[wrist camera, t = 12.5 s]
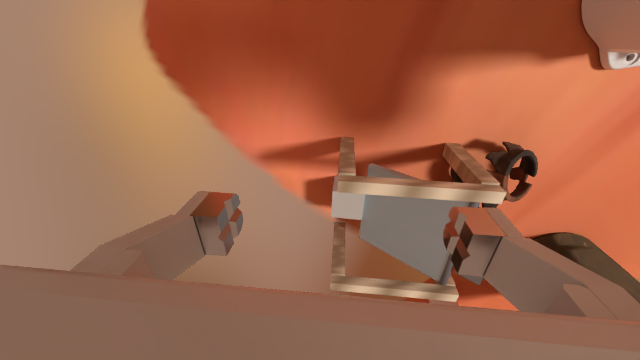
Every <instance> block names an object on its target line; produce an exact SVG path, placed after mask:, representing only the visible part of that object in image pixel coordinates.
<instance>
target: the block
mask: <svg viewBox="0 0 640 360" xmlns="http://www.w3.org/2000/svg"><path fill="white" fill-rule="evenodd" d="M337 188H338V176H335V177H334V184H333V191H332V207H331V217H335V218H346V219H356V220H362V214H363V207H364V200H365V194H355V193H341V192H337Z"/></svg>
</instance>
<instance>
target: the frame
mask: <svg viewBox="0 0 640 360" xmlns="http://www.w3.org/2000/svg"><path fill="white" fill-rule="evenodd" d="M442 156H443V157H444V158H445V159H446V161H447V162H448V163H449V164H450V166H451V167H452V168H453V169H454V171H455V172H456V173H457V174H458V176H459V177H460V178H461V179H462V181H463V182H464V183H457V182H442V181H428V180H413V179H398V178H383V177H368V176H356V167H355V153H354V138H349V137H341V140H340V154H339V171H338V188H337V192H341V193H355V194H369V195H383V196H397V197H411V198H424V199H438V200H452V201H466V202H480V203H494V204H502V202H503V200H504V197H505V195H506V193H507V192H506V191H505V190H504V189H503V188H502V187H501V186H500V183H499V182H498V181H497V180H496V179H495V178H494V177H493V176H492V175H491V174H490V173H489V172H488V171H487V170H486V169H485V168H484V167H483V166H482V165H481V164H479V163H478V162H477V161H476V160H475V159H474V158H473V157H472V156H471V155H470V154H469V153H468V152H467V151H466V150H465V149H464V148H463V147H462V146H461V145H460V144H453V143H445V147H444V150H443V153H442ZM433 280H434V279H433ZM434 283H435V284H428V283H417V282H406V281H396V280H395V281H394V280H385V279H374V278H364V277H352V276H345V223H338V222H335V223H334V239H333V253H332V269H331V285H330V290H339V291H348V292H359V293H369V294H379V295H390V296H400V297H410V298H420V299H431V300H441V301H451V302H456V301H457V299H458V297H459V294H458V291H457V289H456V287H455V285H456V284H455V282H454V280H453V278H452V275H451V274H450V277H449V279H448V282H447V284H446V285H445V286H442V285H440V284H439V283H438V281H436V280H434Z"/></svg>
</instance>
